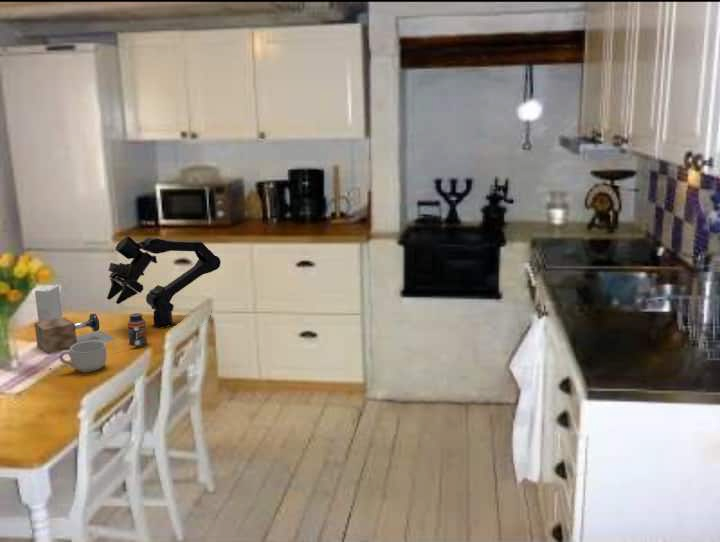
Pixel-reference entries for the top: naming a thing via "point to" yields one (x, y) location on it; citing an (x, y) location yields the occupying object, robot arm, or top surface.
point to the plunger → (89, 323)
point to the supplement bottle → (137, 330)
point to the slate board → (88, 337)
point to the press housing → (55, 335)
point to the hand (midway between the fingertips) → (112, 301)
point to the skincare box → (48, 303)
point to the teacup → (86, 355)
